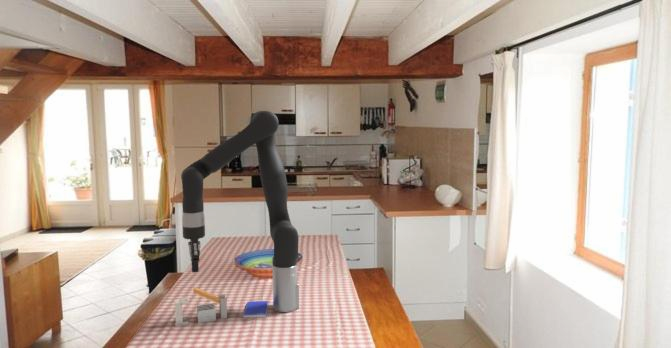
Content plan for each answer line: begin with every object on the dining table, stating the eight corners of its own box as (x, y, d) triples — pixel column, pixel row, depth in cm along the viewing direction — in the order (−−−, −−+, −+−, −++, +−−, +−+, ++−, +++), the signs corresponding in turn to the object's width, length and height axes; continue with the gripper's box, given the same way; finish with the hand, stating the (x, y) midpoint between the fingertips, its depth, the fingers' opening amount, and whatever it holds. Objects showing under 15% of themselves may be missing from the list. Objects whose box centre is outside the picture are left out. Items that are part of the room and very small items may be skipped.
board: (225, 309, 179) (224, 289, 178) (231, 326, 165) (231, 304, 164) (173, 317, 172) (172, 296, 171) (175, 335, 158) (174, 312, 157)
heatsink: (213, 313, 173) (213, 302, 172) (216, 320, 167) (215, 309, 166) (197, 316, 170) (196, 305, 170) (198, 323, 165) (198, 312, 164)
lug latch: (188, 318, 168) (187, 297, 167) (189, 323, 165) (188, 301, 164) (175, 320, 167) (174, 299, 166) (176, 325, 163) (175, 303, 162)
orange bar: (223, 304, 171) (225, 299, 172) (224, 306, 169) (226, 302, 170) (192, 291, 167) (195, 286, 167) (193, 293, 165) (195, 288, 165)
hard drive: (265, 314, 172) (268, 300, 184) (243, 314, 172) (247, 301, 184) (265, 318, 172) (268, 304, 185) (243, 318, 172) (247, 305, 184)
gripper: (206, 227, 160) (208, 276, 162) (202, 219, 172) (204, 264, 174) (183, 229, 157) (185, 279, 159) (181, 220, 169) (183, 267, 172)
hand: (195, 271), depth 167 cm, fingers closed
